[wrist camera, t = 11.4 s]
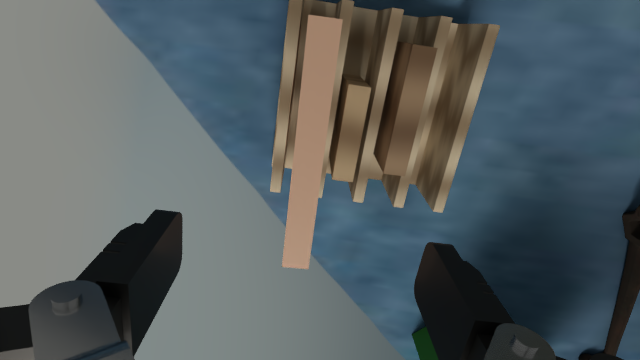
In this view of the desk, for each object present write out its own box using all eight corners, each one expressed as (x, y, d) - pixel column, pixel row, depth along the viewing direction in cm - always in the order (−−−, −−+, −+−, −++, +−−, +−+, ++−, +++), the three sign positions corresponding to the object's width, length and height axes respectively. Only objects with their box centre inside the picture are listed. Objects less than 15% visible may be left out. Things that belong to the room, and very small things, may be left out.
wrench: (566, 352, 61) (605, 194, 47) (596, 346, 61) (643, 188, 47) (590, 381, 56) (640, 216, 43) (622, 375, 56) (683, 209, 43)
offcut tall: (388, 39, 38) (412, 44, 29) (406, 42, 38) (437, 48, 29) (367, 141, 42) (383, 173, 33) (384, 143, 42) (405, 176, 33)
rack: (290, -3, 38) (285, -11, 30) (466, 26, 39) (505, 26, 31) (272, 161, 45) (265, 190, 37) (423, 181, 46) (447, 213, 38)
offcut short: (341, 73, 39) (348, 84, 32) (359, 75, 40) (371, 87, 32) (328, 152, 43) (332, 179, 35) (345, 155, 43) (352, 182, 36)
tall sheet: (309, 20, 37) (308, 14, 17) (324, 22, 37) (342, 19, 17) (295, 151, 43) (281, 266, 22) (309, 153, 43) (308, 269, 22)
